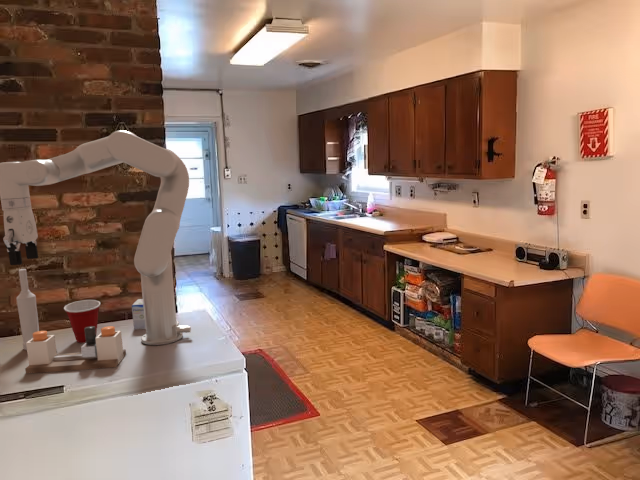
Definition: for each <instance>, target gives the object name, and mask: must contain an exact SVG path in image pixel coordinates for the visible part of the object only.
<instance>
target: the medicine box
mask: <svg viewBox="0 0 640 480" xmlns="http://www.w3.org/2000/svg"><path fill="white" fill-rule="evenodd" d="M131 313H132V324H133V329H134V330H146V327H145V317H144V307H143V298H137V300H135V301H134V302H133V304H131Z"/></svg>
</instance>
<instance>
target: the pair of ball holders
mask: <svg viewBox="0 0 640 480" xmlns="http://www.w3.org/2000/svg"><path fill="white" fill-rule="evenodd" d="M47 336H48V339H47V340H44V341H36V342H34V341H33V338H32V339H31V340H29V341H28V342H27V343H26V346H27V350H26V351H27V360H28V366H29V365H40V364H50V363H51V362H52V361H53V360H54V357H55V356H57V354H58V352H57V343H56V337H55V334H51V335H48V334H47ZM95 339H96V348H97V357H98V360H111V359H118V365H119V364H120V362H121V361H122V360H123V359H124V357H125V356H124V354H122V353H123V350H124V348H123V347H124V346H123V337H122V330H115V335H114V336H110V337H102V335H101V332H100V333H99V334H98V335H96V338H95ZM123 356H124V357H123ZM121 359H122V360H121Z"/></svg>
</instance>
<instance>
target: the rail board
mask: <svg viewBox="0 0 640 480" xmlns="http://www.w3.org/2000/svg"><path fill="white" fill-rule="evenodd" d="M122 354H124V356H123V358H125V356H126V355H127V352H126V349H124V348H123V353H122ZM122 360H123V359H121V361H122ZM118 365H119V364H118V359H111V360H98V357H97V356H96V357H82V351H81V352H70V353H57V356H55V357H54V360H53V361H52V362H51V363H50V364H40V365H29V364H28V365H27V366H26V367H25V368H24V369H25V374H39V373H42V374H43V373H54V372H57V373H58V372H67V371H69V372H70V371H81V370H83V371H84V370H96V369H97V370H98V369H112V368H116V367H118Z"/></svg>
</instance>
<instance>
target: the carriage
mask: <svg viewBox="0 0 640 480" xmlns="http://www.w3.org/2000/svg"><path fill="white" fill-rule="evenodd" d="M84 330H85V338H86V343H84V344H83V345H82V346H80V349H81V352H82V357H96V356H97V348H96V339H95V338H96V337H97V334H96V330H95V326H89V327H86V328H84Z"/></svg>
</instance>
